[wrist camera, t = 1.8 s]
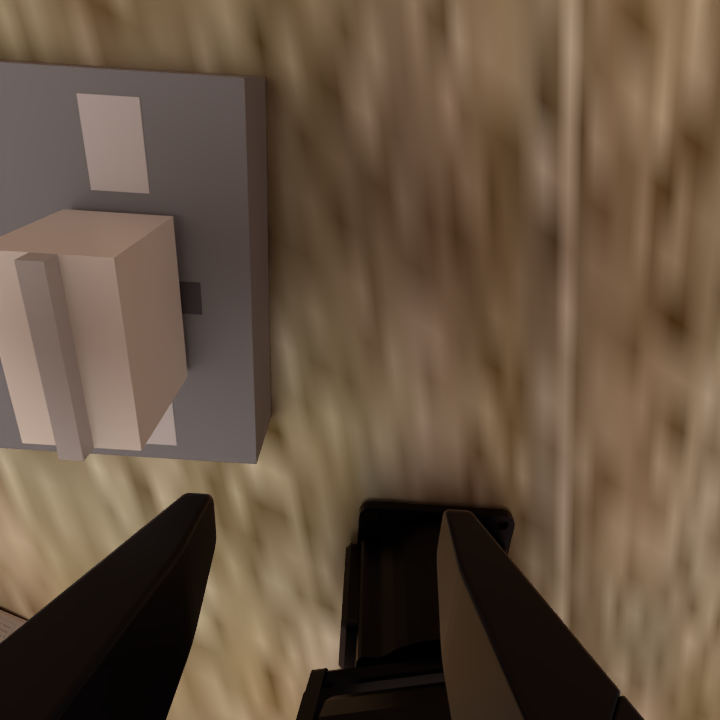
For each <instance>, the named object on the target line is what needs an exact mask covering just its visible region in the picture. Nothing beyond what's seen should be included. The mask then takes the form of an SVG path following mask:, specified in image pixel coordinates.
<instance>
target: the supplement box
mask: <svg viewBox="0 0 720 720" xmlns="http://www.w3.org/2000/svg"><path fill="white" fill-rule="evenodd" d="M25 622H27V621H26V620H24V619H21V618H19V617H16V616H14V615H12V614H9V613H7V612H5V611H2V610H0V643H1V642H2V641H3V640H4V639H6V638H7V637H8V636H9V635H11V634H12V633H13V632H14V631H15V630H17V629H18V628H19V627H20V626H22V625H23V624H24V623H25Z"/></svg>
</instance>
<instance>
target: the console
mask: <svg viewBox="0 0 720 720" xmlns="http://www.w3.org/2000/svg"><path fill="white" fill-rule="evenodd" d="M63 209H68V210H84V211H100V212H115V213H131V214H146V215H162V216H173V221H174V232H175V243H176V254H177V265H178V276H179V287H180V298H181V309H182V320H183V330H184V341H185V352H186V363H187V374H188V377H187V379H186V380H185V382H184V383H183V385H182V387H181V388H180V390H179V391H178V393H177V395H176V396H175V398H174V400H173V401H172V403H171V404H170V406H169V408H168V409H167V411H166V412H165V414H164V416H163V417H162V419H161V420H160V422H159V424H158V425H157V427H156V428H155V430H154V432H153V433H152V435H151V436H150V438H149V440H148V441H147V443H146V444H145V446H144V448H143V449H142V451H136V450H120V449H105V448H93V450H92V451H91V452H90V453H91V454H106V455H122V456H138V457H154V458H169V459H185V460H201V461H217V462H232V463H248V464H257V461H258V458H259V454H260V451H261V448H262V445H263V441H264V438H265V435H266V432H267V428H268V425H269V422H270V419H271V387H270V326H269V265H268V203H267V142H266V80H265V77H257V76H242V75H226V74H211V73H195V72H180V71H164V70H149V69H133V68H118V67H102V66H87V65H71V64H56V63H40V62H25V61H9V60H0V236H3V235H5V234H7V233H10V232H12V231H14V230H17V229H19V228H21V227H23V226H26V225H28V224H30V223H33V222H35V221H37V220H40V219H42V218H44V217H46V216H49V215H51V214H53V213H56V212H58V211H60V210H63ZM0 448H12V449H27V450H43V451H57V448H56V445H42V444H26V443H22V440H21V436H20V432H19V428H18V424H17V420H16V417H15V413H14V409H13V405H12V401H11V397H10V393H9V389H8V386H7V382H6V378H5V374H4V370H3V366H2V362H1V358H0Z"/></svg>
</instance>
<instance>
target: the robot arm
mask: <svg viewBox="0 0 720 720" xmlns="http://www.w3.org/2000/svg"><path fill="white" fill-rule="evenodd" d="M370 512H373V513H375V514H374V515H369V514H367V513H370ZM500 521H505V522H503V523H498V522H500ZM513 530H514V520H513V517H512V515H511V513H510V512H508V511H507V510H501V509H486V508H470V507H454V506H438V505H422V504H407V503H391V502H375V501H370V502H366V503H364V504H363V505H362V506H361V507H360V513H359V526H358V539H357V544H355V543H351V544H350V545H349V546H347V547H346V558H345V573H344V588H343V603H342V619H341V634H340V650H339V666H340V667H341V669H337V670H330V671H328V669H327V668H324V669H317V670H312V671H311V674H310V677H309V681H308V684H307V687H306V691H305V692H304V694H303V697H302V701H301V704H300V708H299V711H298V715H297V718H296V720H644V719H643V717H642V716H641V715H640V714H639V713H638V711H637V710H636V709H635V708H634V707H633V705H632V704H631V703H630V702H629V701H628V699H627V698H626V697H625V696H620V690H619V689H618V688H617V686H616V685H615V684H614V683H613V682H612V680H611V679H610V678H609V677H608V676H607V674H606V673H605V672H604V671H603V670H602V668H601V667H600V666H599V665H598V664H597V662H596V661H595V660H594V659H593V658H592V656H591V655H590V654H589V653H588V652H587V650H586V649H585V648H584V647H583V645H582V644H581V643H580V642H579V641H578V639H577V638H576V637H575V636H574V635H573V633H572V632H571V631H570V630H569V629H568V627H567V626H566V625H565V624H564V623H563V621H562V620H561V619H560V618H559V617H558V615H557V614H556V613H555V612H554V611H553V609H552V608H551V607H550V606H549V605H548V603H547V602H546V601H545V600H544V598H543V597H542V596H541V595H540V594H539V592H538V591H537V590H536V589H535V588H534V586H533V585H532V584H531V583H530V582H529V580H528V579H527V578H526V577H525V576H524V574H523V573H522V572H521V571H520V570H519V568H518V567H517V566H516V565H515V564H514V562H513V561H512V560H511V559H510V558H509V556H508V551H509V547H510V543H511V538H512V534H513ZM215 544H216V525H215V512H214V501H213V498H212V496H211V495H209V494H200V493H186V494H184V495H182V496H181V497H180V498H178V499H177V500H176V501H175V502H174V503H172V504H171V505H170V506H169V507H167V508H166V509H165V510H164V511H162V512H161V513H160V514H159V515H157V516H156V517H155V518H154V519H153V520H151V521H150V522H149V523H148V524H146V525H145V526H144V527H143V528H141V529H140V530H139V531H138V532H136V533H135V534H134V535H133V536H132V537H130V538H129V539H128V540H127V541H125V542H124V543H123V544H122V545H120V546H119V547H118V548H117V549H115V550H114V551H113V552H112V553H111V554H109V555H108V556H107V557H106V558H104V559H103V560H102V561H101V562H99V563H98V564H97V565H96V566H95V567H93V568H92V569H91V570H90V571H88V572H87V573H86V574H85V575H83V576H82V577H81V578H80V579H78V580H77V581H76V582H75V583H74V584H72V585H71V586H70V587H69V588H67V589H66V590H65V591H64V592H62V593H61V594H60V595H59V596H57V597H56V598H55V599H54V600H53V601H51V602H50V603H49V604H48V605H46V606H45V607H44V608H43V609H41V610H40V611H39V612H38V613H36V614H35V615H34V616H33V617H32V618H30V619H29V620H28V621H27V622H25V623H24V624H23V625H22V626H20V627H19V628H18V629H17V630H15V631H14V632H13V633H12V634H11V635H9V636H8V637H7V638H6V639H4V640H3V641H2V642H1V643H0V720H166V718H167V715H168V712H169V709H170V707H171V704H172V701H173V698H174V695H175V693H176V690H177V687H178V684H179V681H180V678H181V676H182V673H183V670H184V667H185V664H186V661H187V659H188V655H189V652H190V649H191V646H192V643H193V639H194V635H195V631H196V627H197V623H198V619H199V615H200V610H201V606H202V602H203V597H204V593H205V589H206V584H207V580H208V576H209V572H210V567H211V563H212V559H213V554H214V550H215Z"/></svg>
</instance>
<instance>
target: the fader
mask: <svg viewBox="0 0 720 720" xmlns="http://www.w3.org/2000/svg"><path fill="white" fill-rule="evenodd" d="M0 358H1V362H2V366H3V370H4V374H5V378H6V382H7V386H8V389H9V393H10V397H11V401H12V405H13V409H14V413H15V417H16V420H17V424H18V428H19V432H20V436H21V440H22V443H26V444H42V445H56V448H57V453H58V457H59V460H73V461H84V460H85V459H86V458H87V456H88V455H89V454H90V452H91V451H92V450H93V448H105V449H120V450H136V451H142V449H143V448H144V446H145V444H146V443H147V441H148V440H149V438H150V436H151V435H152V433H153V432H154V430H155V428H156V427H157V425H158V424H159V422H160V420H161V419H162V417H163V416H164V414H165V412H166V411H167V409H168V408H169V406H170V404H171V403H172V401H173V400H174V398H175V396H176V395H177V393H178V391H179V390H180V388H181V387H182V385H183V383H184V382H185V380H186V379H187V377H188V374H187V363H186V352H185V341H184V330H183V320H182V309H181V298H180V287H179V276H178V265H177V254H176V243H175V232H174V221H173V216H162V215H146V214H131V213H115V212H100V211H84V210H68V209H63V210H60V211H58V212H56V213H53V214H51V215H49V216H46V217H44V218H42V219H40V220H37V221H35V222H33V223H30V224H28V225H26V226H23V227H21V228H19V229H17V230H14V231H12V232H10V233H7V234H5V235H3V236H0Z"/></svg>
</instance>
